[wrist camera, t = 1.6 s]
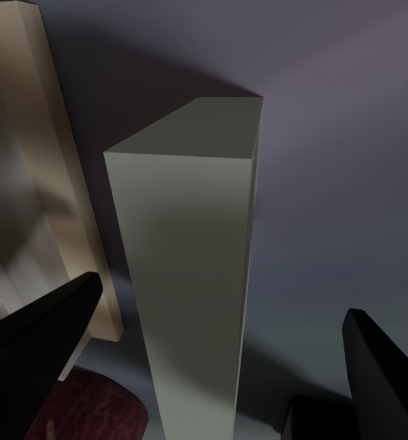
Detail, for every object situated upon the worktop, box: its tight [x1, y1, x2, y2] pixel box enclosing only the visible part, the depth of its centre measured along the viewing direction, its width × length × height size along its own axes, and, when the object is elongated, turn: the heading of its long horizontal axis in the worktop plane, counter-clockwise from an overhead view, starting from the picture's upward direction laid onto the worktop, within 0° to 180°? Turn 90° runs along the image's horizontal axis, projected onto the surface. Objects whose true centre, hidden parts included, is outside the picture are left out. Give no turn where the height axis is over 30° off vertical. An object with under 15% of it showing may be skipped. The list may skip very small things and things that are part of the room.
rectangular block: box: [103, 97, 264, 440], centre depth 10 cm, size 12×2×7 cm, turn 1°
